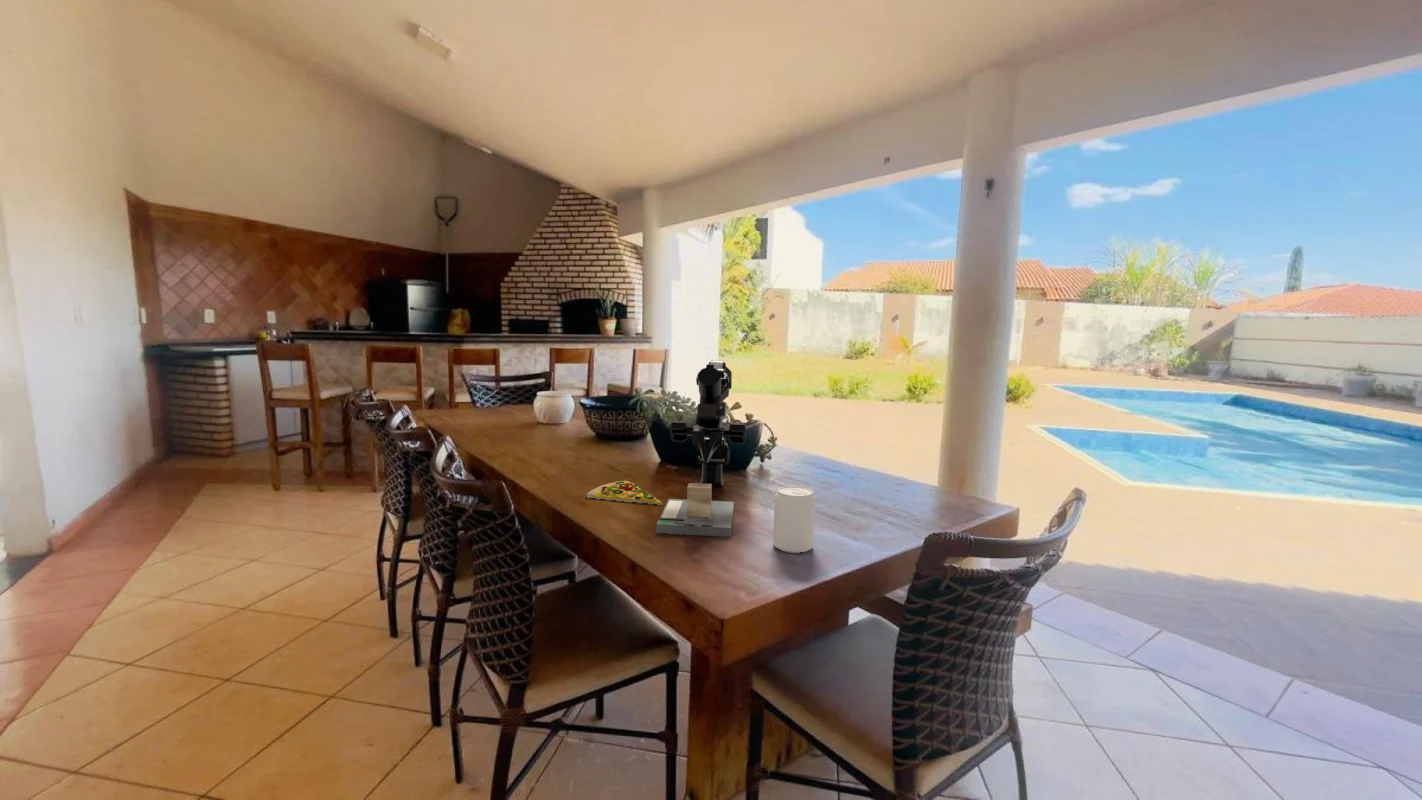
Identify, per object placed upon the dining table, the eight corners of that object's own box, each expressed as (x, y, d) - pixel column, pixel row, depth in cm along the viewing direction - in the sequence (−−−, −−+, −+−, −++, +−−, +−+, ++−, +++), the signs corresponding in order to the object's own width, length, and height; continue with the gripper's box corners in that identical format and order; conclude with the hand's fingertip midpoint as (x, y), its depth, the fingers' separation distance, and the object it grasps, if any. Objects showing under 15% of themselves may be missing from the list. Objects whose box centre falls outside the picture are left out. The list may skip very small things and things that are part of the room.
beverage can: (784, 536, 123) (786, 482, 122) (819, 545, 119) (822, 489, 117) (765, 548, 117) (767, 491, 115) (801, 558, 112) (804, 499, 111)
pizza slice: (623, 486, 161) (623, 475, 161) (681, 500, 149) (681, 489, 149) (581, 499, 148) (581, 488, 148) (641, 516, 137) (641, 504, 136)
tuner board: (668, 506, 142) (669, 497, 141) (733, 509, 140) (733, 500, 140) (656, 533, 124) (656, 522, 124) (730, 536, 123) (730, 526, 122)
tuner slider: (661, 515, 128) (662, 480, 127) (713, 518, 127) (714, 482, 126) (657, 523, 123) (658, 487, 122) (711, 526, 122) (712, 489, 121)
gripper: (670, 389, 141) (663, 443, 132) (746, 391, 140) (744, 446, 131) (675, 414, 150) (668, 467, 141) (746, 417, 149) (744, 470, 140)
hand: (705, 462), depth 138 cm, fingers closed
